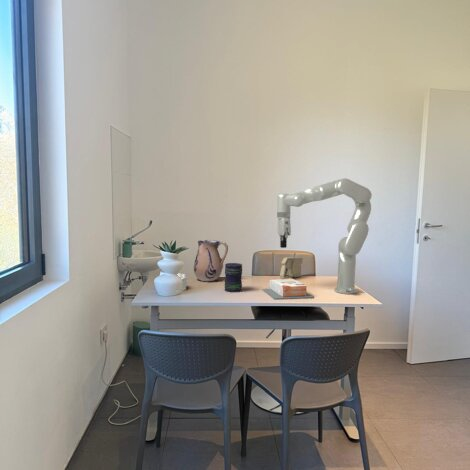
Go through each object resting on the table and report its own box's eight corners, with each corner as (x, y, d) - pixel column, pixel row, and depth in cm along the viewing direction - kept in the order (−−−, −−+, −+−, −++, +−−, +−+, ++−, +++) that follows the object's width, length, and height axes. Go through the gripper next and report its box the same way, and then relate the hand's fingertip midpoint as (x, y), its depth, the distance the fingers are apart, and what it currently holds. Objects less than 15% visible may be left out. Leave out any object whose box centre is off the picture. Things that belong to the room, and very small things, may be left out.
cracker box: (291, 277, 242) (307, 285, 222) (291, 287, 243) (306, 296, 223) (269, 278, 238) (283, 286, 218) (268, 288, 239) (282, 297, 219)
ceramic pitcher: (194, 277, 269) (195, 239, 266) (227, 277, 270) (227, 239, 267) (192, 282, 251) (193, 242, 249) (227, 283, 252) (228, 242, 250)
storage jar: (228, 287, 241) (229, 257, 239) (244, 289, 237) (245, 258, 235) (221, 291, 231) (222, 259, 230) (238, 293, 228) (238, 260, 226)
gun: (283, 281, 261) (285, 258, 261) (278, 281, 263) (280, 257, 263) (301, 279, 281) (303, 257, 281) (297, 278, 283) (298, 257, 283)
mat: (313, 298, 221) (313, 297, 221) (274, 299, 216) (274, 298, 216) (298, 288, 242) (298, 287, 242) (262, 290, 237) (262, 288, 237)
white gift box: (186, 286, 241) (186, 272, 240) (186, 291, 228) (186, 276, 227) (167, 286, 240) (168, 272, 239) (167, 292, 227) (167, 276, 226)
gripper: (294, 216, 229) (294, 249, 230) (285, 214, 243) (285, 245, 245) (281, 216, 227) (281, 249, 229) (273, 215, 241) (273, 246, 243)
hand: (283, 247), depth 237 cm, fingers closed
